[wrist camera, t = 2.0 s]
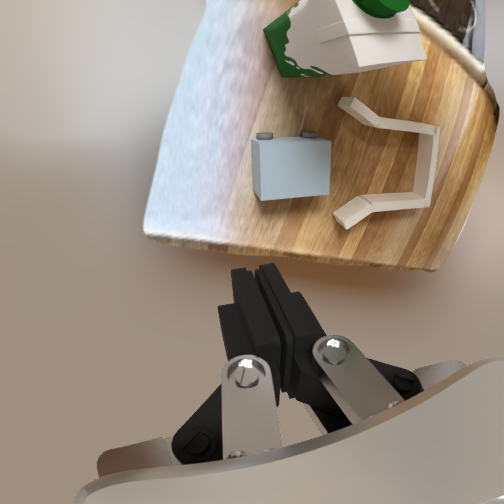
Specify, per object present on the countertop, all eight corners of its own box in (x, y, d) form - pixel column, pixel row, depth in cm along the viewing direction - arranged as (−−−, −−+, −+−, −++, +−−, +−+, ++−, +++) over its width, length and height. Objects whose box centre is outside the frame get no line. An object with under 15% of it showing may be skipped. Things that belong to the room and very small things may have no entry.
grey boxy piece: (250, 133, 33) (259, 137, 29) (316, 131, 35) (331, 135, 31) (253, 194, 38) (261, 206, 34) (314, 189, 39) (328, 199, 35)
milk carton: (315, 14, 26) (417, -31, 9) (336, 71, 31) (451, 68, 14) (253, 25, 26) (325, -42, 9) (277, 86, 31) (372, 77, 14)
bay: (336, 96, 32) (350, 96, 29) (426, 110, 35) (440, 113, 32) (331, 220, 42) (342, 230, 39) (414, 211, 45) (426, 219, 42)
